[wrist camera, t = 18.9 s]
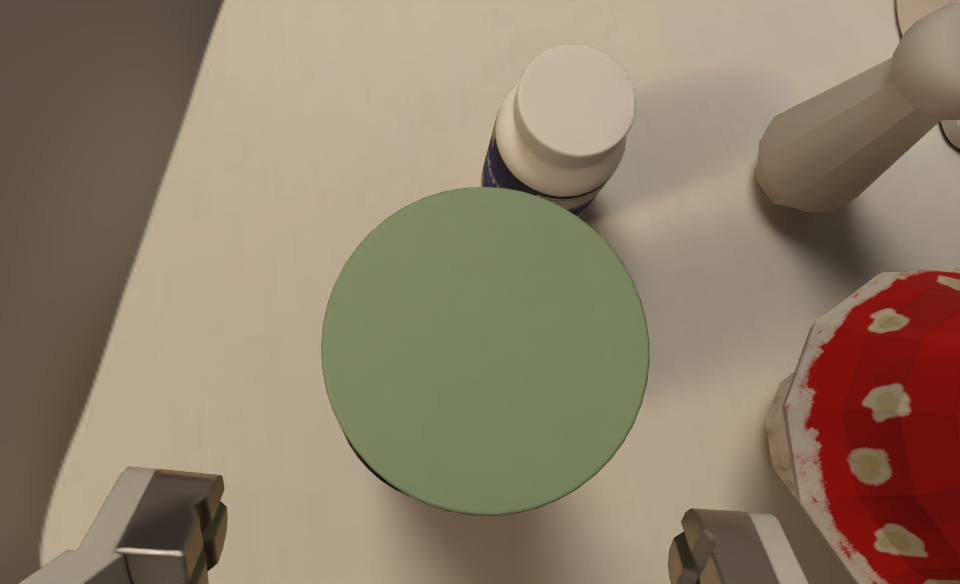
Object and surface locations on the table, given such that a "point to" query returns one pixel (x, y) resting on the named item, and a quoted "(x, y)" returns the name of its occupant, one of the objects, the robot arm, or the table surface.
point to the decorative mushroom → (879, 429)
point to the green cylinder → (485, 351)
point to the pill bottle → (562, 127)
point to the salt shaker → (864, 120)
